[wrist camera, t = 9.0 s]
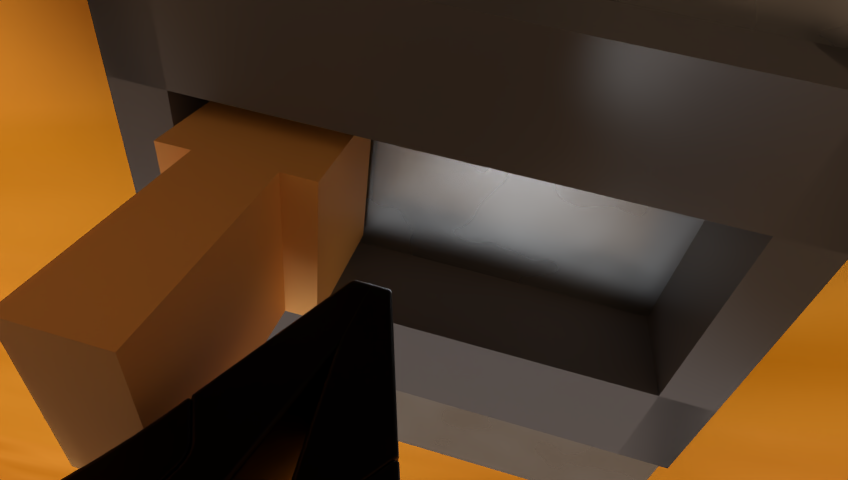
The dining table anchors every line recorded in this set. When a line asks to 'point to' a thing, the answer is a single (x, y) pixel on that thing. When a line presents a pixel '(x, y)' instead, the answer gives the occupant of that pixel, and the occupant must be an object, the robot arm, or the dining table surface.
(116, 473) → the robot arm
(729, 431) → the dining table surface
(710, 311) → the box
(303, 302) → the toggle
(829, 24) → the panel
